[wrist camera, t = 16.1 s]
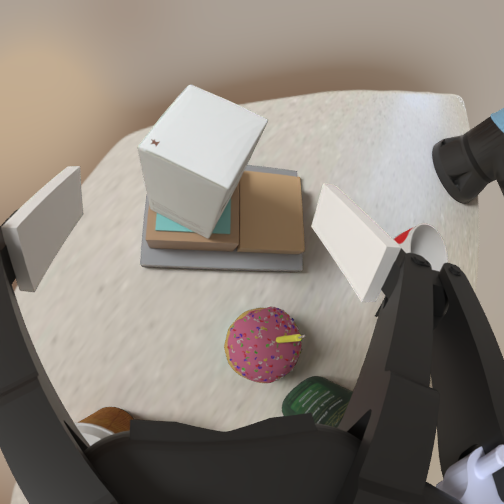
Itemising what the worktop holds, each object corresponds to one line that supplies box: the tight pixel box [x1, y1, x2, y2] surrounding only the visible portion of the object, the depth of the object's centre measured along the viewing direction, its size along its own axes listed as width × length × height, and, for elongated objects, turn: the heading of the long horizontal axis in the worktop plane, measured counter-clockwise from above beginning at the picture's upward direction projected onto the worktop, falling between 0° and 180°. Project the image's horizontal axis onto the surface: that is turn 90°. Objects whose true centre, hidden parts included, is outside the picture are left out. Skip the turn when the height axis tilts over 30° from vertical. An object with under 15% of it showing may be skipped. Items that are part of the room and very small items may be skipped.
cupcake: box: [224, 307, 305, 383], centre depth 29 cm, size 9×8×12 cm
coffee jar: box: [282, 376, 353, 428], centre depth 26 cm, size 10×8×19 cm
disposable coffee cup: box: [74, 407, 133, 446], centre depth 23 cm, size 10×10×12 cm
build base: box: [140, 165, 305, 272], centre depth 35 cm, size 20×14×6 cm
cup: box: [393, 223, 448, 272], centre depth 37 cm, size 8×8×10 cm
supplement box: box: [138, 85, 268, 238], centre depth 25 cm, size 7×7×13 cm
